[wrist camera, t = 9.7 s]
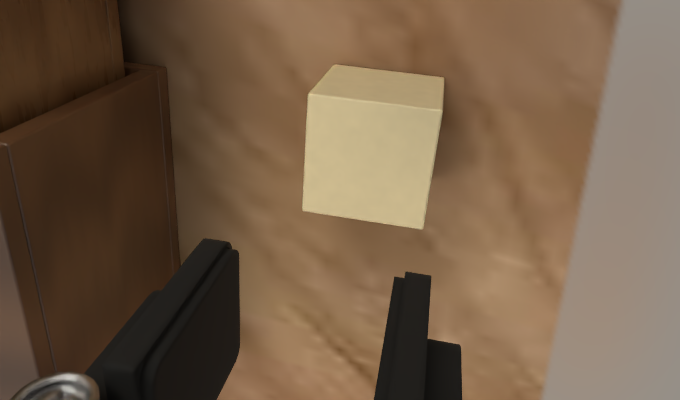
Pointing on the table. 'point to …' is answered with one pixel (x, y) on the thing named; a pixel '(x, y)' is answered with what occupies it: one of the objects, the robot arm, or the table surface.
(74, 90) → the drawer
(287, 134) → the table surface
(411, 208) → the block
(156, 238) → the cabinet
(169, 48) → the table surface
